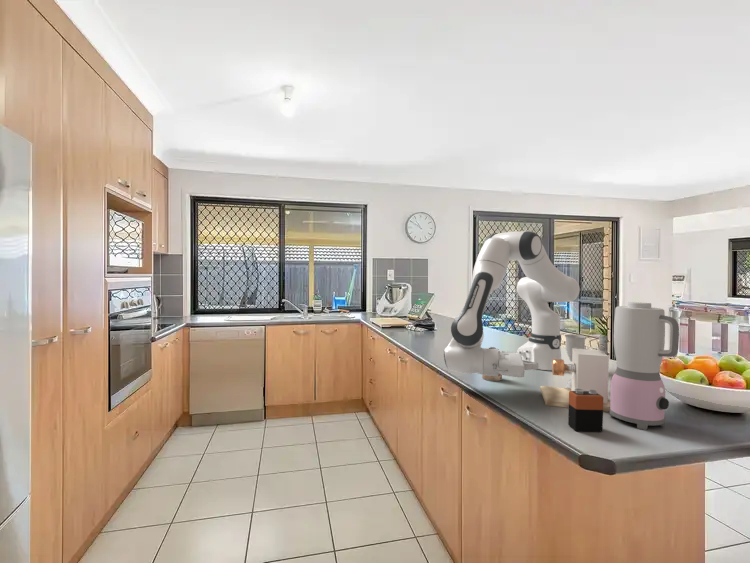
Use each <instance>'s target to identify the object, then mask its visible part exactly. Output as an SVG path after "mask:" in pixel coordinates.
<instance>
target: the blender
mask: <svg viewBox="0 0 750 563" xmlns="http://www.w3.org/2000/svg"><path fill="white" fill-rule="evenodd" d="M666 324H668V325H669V327H670V329H669V330H670V332H669V333H670V335H669V349H665V344H666ZM679 343H680V325H679V322H678V321H677V320H676V319H675V318H674V317H671V316H669V315H666V313H665V309H664V308H661V307H652V303H651V302H644V301H643V302H642V301H641V302H640V301H639V302H638V301H628V303H627V306H626V305H621V306H616V307H615V310H614V320H613V347H614V353H615V360H616V369H615V372H614V374H613V376H612V377H611V380H610V399H609V400H610V401H609V402H610V412H609V417H610V418H612V419H613V418H616V419H619V420H622V421H625V422H627V423H631V424H636V428H637V429H639V430H648V426H660V427H662V428H664V427H665V418H666V417H665V412H666V410H667V409H668V408H669V405H670V402H669V399H667V398H666V387H665V383H664V382H663V380H662V378H661V375H660V370H661V366H662V365H661V364H662V363H663V362H662V360H663V357H665V358H672V357H676V356H677V355H678V352H679Z"/></svg>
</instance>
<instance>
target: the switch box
mask: <svg viewBox="0 0 750 563" xmlns="http://www.w3.org/2000/svg"><path fill="white" fill-rule="evenodd" d="M609 360H610V358H609V355H608V354H606V353H605V352H604V351H603V350H600V349H589V348H588V349H587V348H585V349H576V348H572V362H571V364H572V365H576V373H574V372H571V380H572V387H571V388H570V389H571V391H575V389H577V388H578V389H583V390H584V391H590V390H596V393H598V394H600V395H601V396H603V403H606V404H608V401H609V395H608V394H609V366H610V364H609V362H610V361H609Z"/></svg>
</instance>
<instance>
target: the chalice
mask: <svg viewBox="0 0 750 563" xmlns="http://www.w3.org/2000/svg"><path fill="white" fill-rule="evenodd" d="M564 337H565V351H566V353H567V354H566V355H567V356H568V358H569V361H570V362H571V363H572V348H576V349H586V347H585V346H586V345H585V344H586V339H587V336H584V335H580V334H564ZM571 387H572V379H569V380H568V382H567V384H566V385H565V388H569V389H571Z"/></svg>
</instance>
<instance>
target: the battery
mask: <svg viewBox="0 0 750 563" xmlns="http://www.w3.org/2000/svg"><path fill="white" fill-rule="evenodd" d="M567 414H568V416H567V417H568V418H567V419H568V420H567V421H568V422H567V424H568V425H567V426H569V427H570V428H571V429H572V430H575V431H576V432H582V433H583V432H585V433H586V432H589V433H593V432H594V433H601V432H603V428H604V426H603V425H604V424H603V423H604V422H603V421H604V411H603V396H601V395H600V394H598V393H596V390H590V391H584V390H583V389H578V388H577V389H575V391H569V408H568V413H567Z"/></svg>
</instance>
